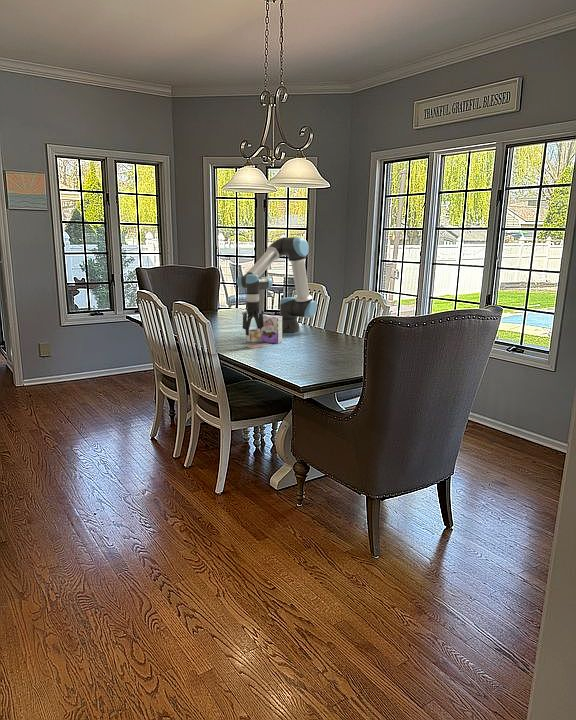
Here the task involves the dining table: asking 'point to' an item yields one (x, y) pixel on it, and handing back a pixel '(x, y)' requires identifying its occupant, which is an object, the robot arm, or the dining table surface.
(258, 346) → the terracotta tile
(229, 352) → the dining table surface
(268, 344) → the grey tile
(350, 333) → the dining table surface
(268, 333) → the candy box
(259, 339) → the cube
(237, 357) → the dining table surface
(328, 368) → the dining table surface
